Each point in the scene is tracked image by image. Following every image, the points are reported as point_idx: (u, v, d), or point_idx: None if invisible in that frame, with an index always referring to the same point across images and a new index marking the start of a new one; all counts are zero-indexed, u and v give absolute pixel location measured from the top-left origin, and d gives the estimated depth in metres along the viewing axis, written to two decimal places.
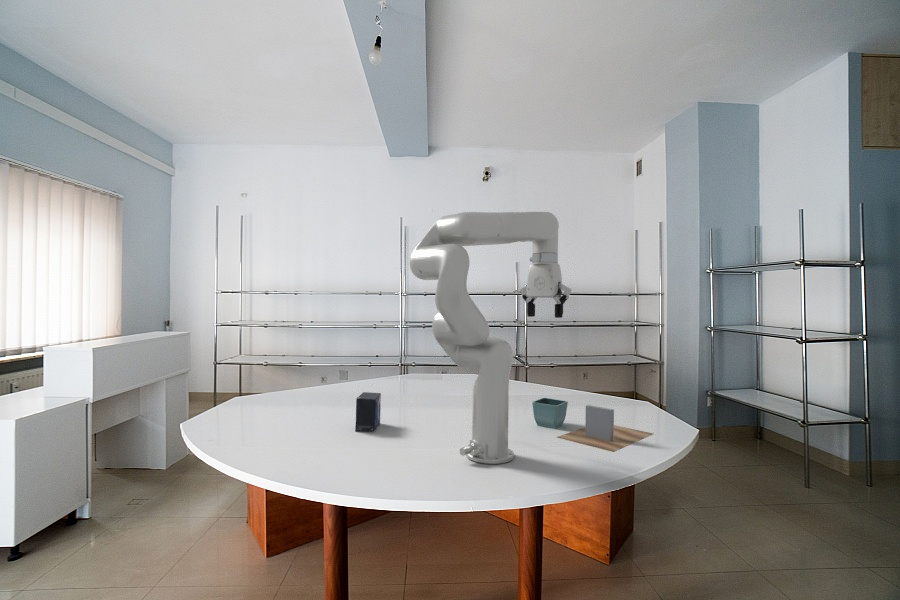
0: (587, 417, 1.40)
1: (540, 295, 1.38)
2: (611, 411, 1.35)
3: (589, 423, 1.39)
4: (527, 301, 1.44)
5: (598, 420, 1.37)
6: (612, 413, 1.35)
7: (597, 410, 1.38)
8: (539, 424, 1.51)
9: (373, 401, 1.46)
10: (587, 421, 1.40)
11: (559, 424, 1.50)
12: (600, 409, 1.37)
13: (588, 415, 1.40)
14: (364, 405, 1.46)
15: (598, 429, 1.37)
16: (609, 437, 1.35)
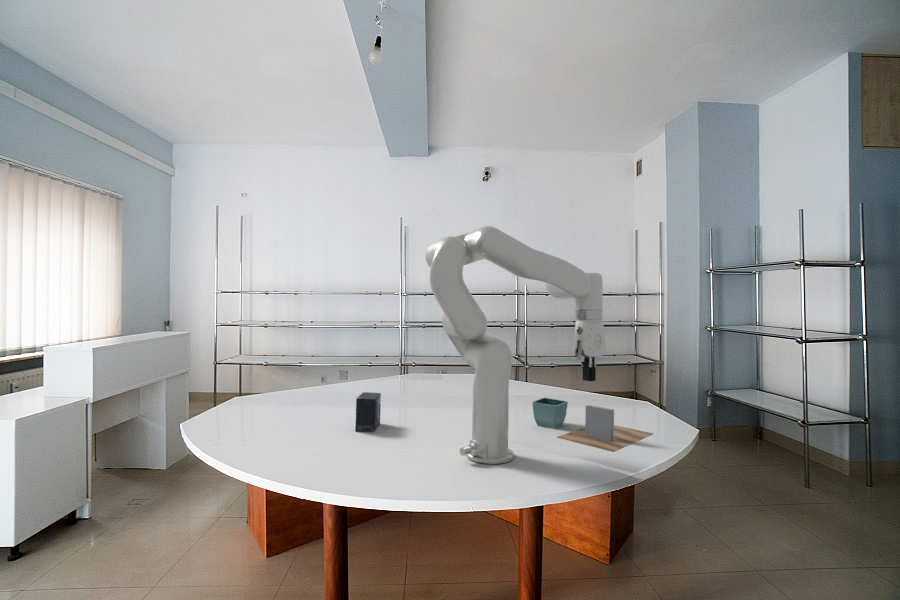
0: (587, 417, 1.40)
1: (598, 354, 1.32)
2: (611, 411, 1.35)
3: (589, 423, 1.39)
4: (591, 365, 1.32)
5: (598, 420, 1.37)
6: (612, 413, 1.35)
7: (597, 410, 1.38)
8: (539, 424, 1.51)
9: (373, 401, 1.46)
10: (587, 421, 1.40)
11: (559, 424, 1.50)
12: (600, 409, 1.37)
13: (588, 415, 1.40)
14: (364, 405, 1.46)
15: (598, 429, 1.37)
16: (609, 437, 1.35)
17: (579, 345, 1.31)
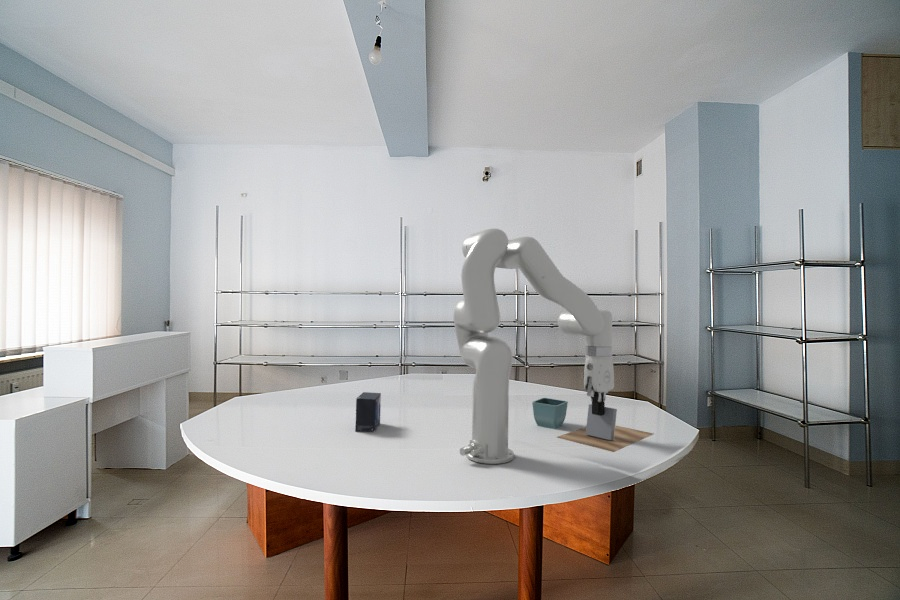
0: (589, 415, 1.41)
1: (607, 389, 1.36)
2: (614, 410, 1.36)
3: (590, 421, 1.40)
4: (600, 399, 1.36)
5: (600, 418, 1.38)
6: (615, 412, 1.36)
7: None
8: (539, 424, 1.51)
9: (373, 401, 1.46)
10: (589, 419, 1.41)
11: (559, 424, 1.50)
12: None
13: (590, 413, 1.41)
14: (364, 405, 1.46)
15: (599, 427, 1.38)
16: (609, 436, 1.35)
17: (589, 381, 1.35)
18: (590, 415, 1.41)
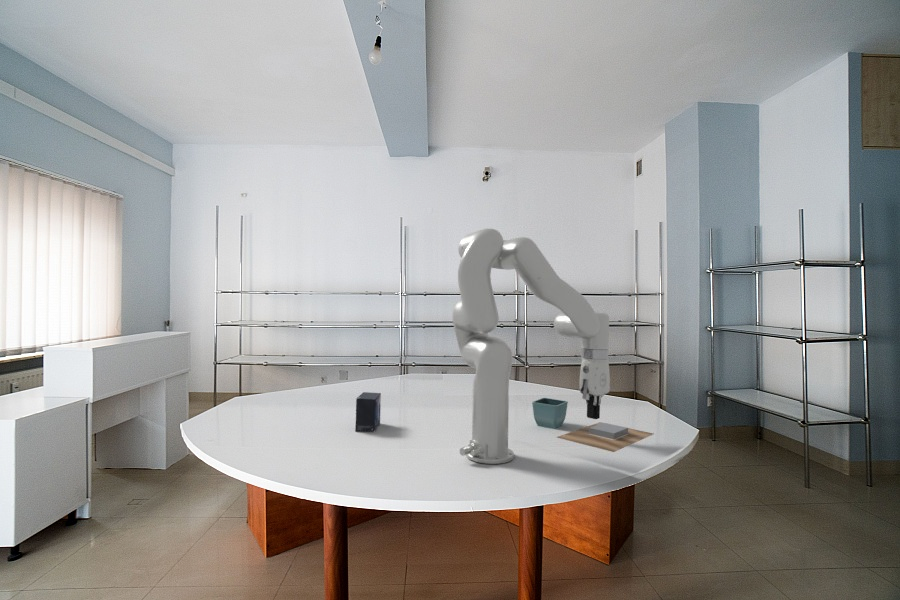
0: (600, 424, 1.45)
1: (603, 392, 1.34)
2: (627, 429, 1.42)
3: (599, 426, 1.44)
4: (595, 403, 1.34)
5: (610, 427, 1.42)
6: (626, 431, 1.42)
7: (614, 425, 1.45)
8: (539, 424, 1.51)
9: (373, 401, 1.46)
10: (598, 425, 1.44)
11: (559, 424, 1.50)
12: None
13: (602, 424, 1.45)
14: (364, 405, 1.46)
15: (606, 428, 1.41)
16: (614, 432, 1.37)
17: (585, 384, 1.33)
18: (601, 425, 1.45)
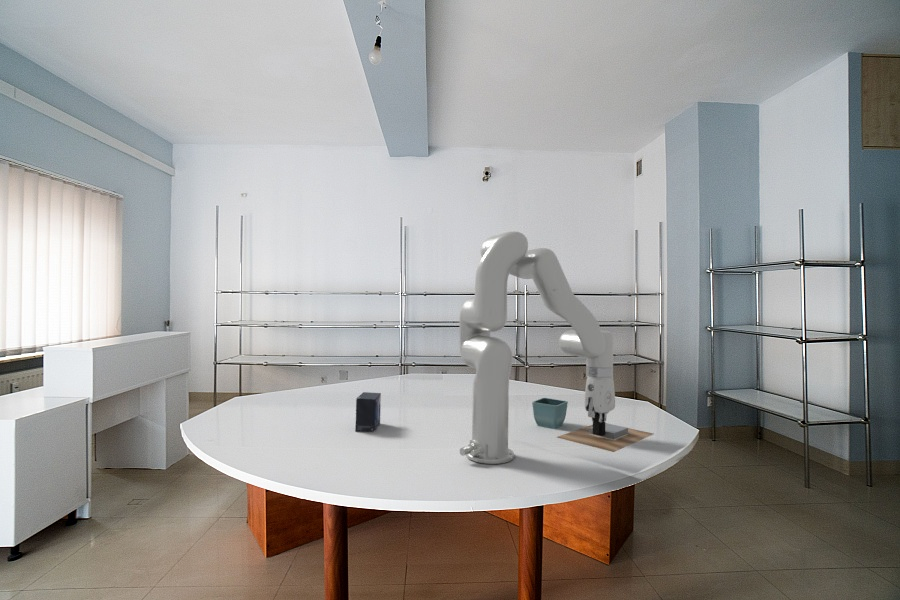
0: None
1: (608, 410, 1.36)
2: (627, 429, 1.42)
3: None
4: (601, 420, 1.36)
5: (610, 427, 1.42)
6: (626, 431, 1.42)
7: (614, 425, 1.45)
8: (539, 424, 1.51)
9: (373, 401, 1.46)
10: None
11: (559, 424, 1.50)
12: None
13: None
14: (364, 405, 1.46)
15: (606, 428, 1.41)
16: (614, 432, 1.37)
17: (590, 401, 1.35)
18: None
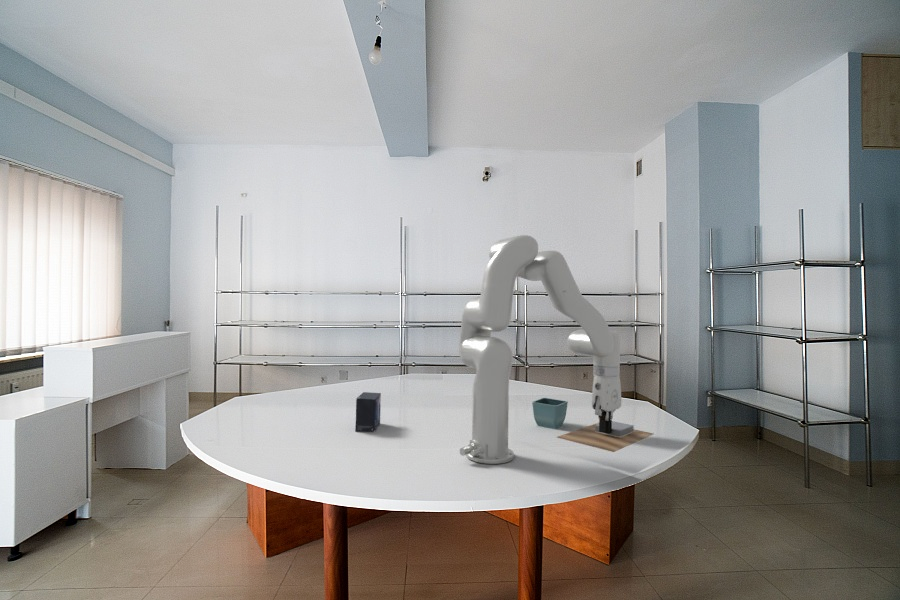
0: None
1: (615, 408, 1.39)
2: (632, 427, 1.45)
3: None
4: (607, 418, 1.39)
5: (616, 425, 1.45)
6: (632, 429, 1.44)
7: (619, 423, 1.48)
8: (539, 424, 1.51)
9: (373, 401, 1.46)
10: None
11: (559, 424, 1.50)
12: (623, 423, 1.47)
13: None
14: (364, 405, 1.46)
15: (612, 426, 1.43)
16: (620, 429, 1.40)
17: (597, 400, 1.38)
18: None
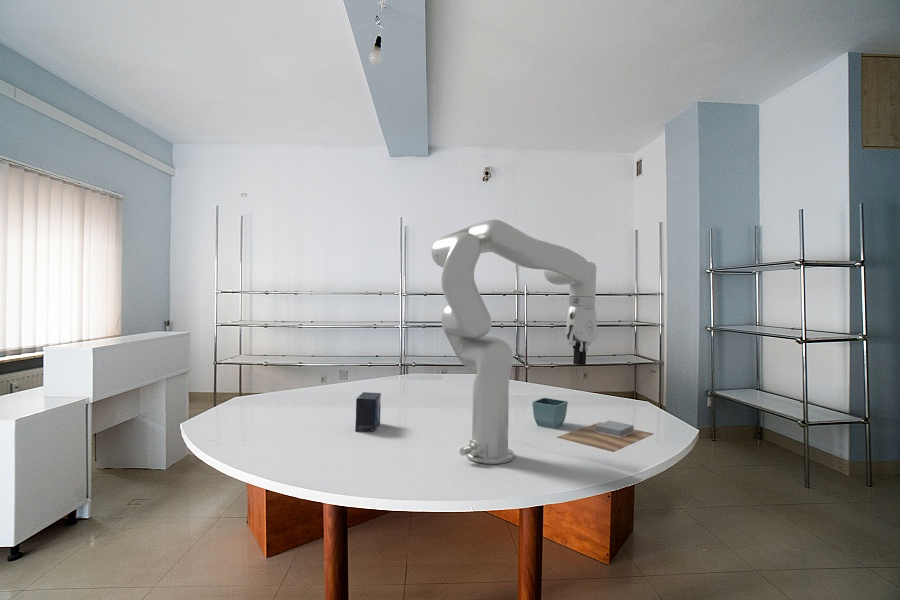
0: (606, 422, 1.48)
1: (589, 339, 1.38)
2: (632, 427, 1.45)
3: (605, 424, 1.46)
4: (581, 349, 1.38)
5: (616, 425, 1.45)
6: (632, 429, 1.44)
7: (619, 423, 1.48)
8: (539, 424, 1.51)
9: (373, 401, 1.46)
10: (604, 423, 1.47)
11: (559, 424, 1.50)
12: (623, 423, 1.47)
13: (608, 422, 1.48)
14: (364, 405, 1.46)
15: (612, 426, 1.43)
16: (620, 429, 1.40)
17: (571, 330, 1.37)
18: (607, 422, 1.48)
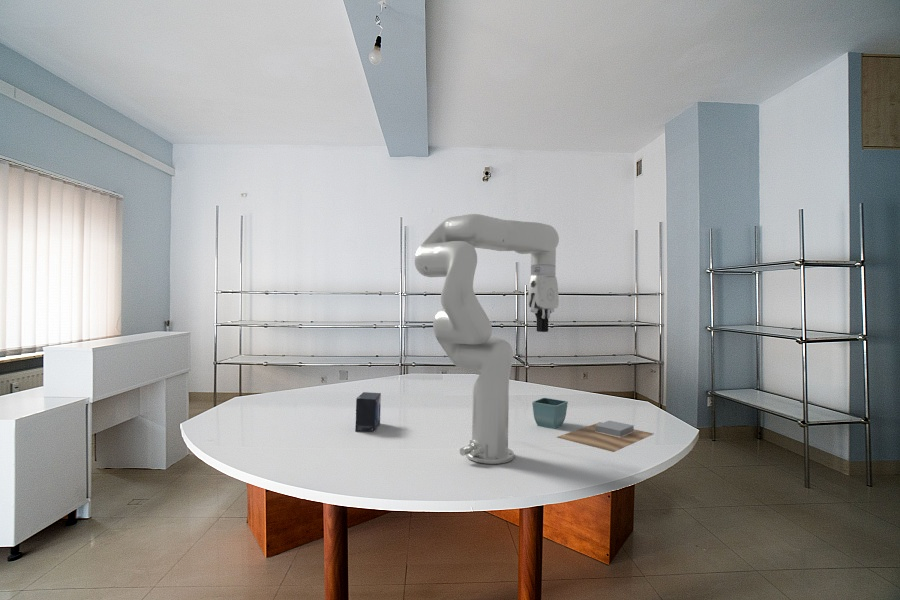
0: (606, 422, 1.48)
1: (551, 306, 1.42)
2: (632, 427, 1.45)
3: (605, 424, 1.46)
4: (543, 316, 1.42)
5: (616, 425, 1.45)
6: (632, 429, 1.44)
7: (619, 423, 1.48)
8: (539, 424, 1.51)
9: (373, 401, 1.46)
10: (604, 423, 1.47)
11: (559, 424, 1.50)
12: (623, 423, 1.47)
13: (608, 422, 1.48)
14: (364, 405, 1.46)
15: (612, 426, 1.43)
16: (620, 429, 1.40)
17: (533, 298, 1.41)
18: (607, 422, 1.48)
